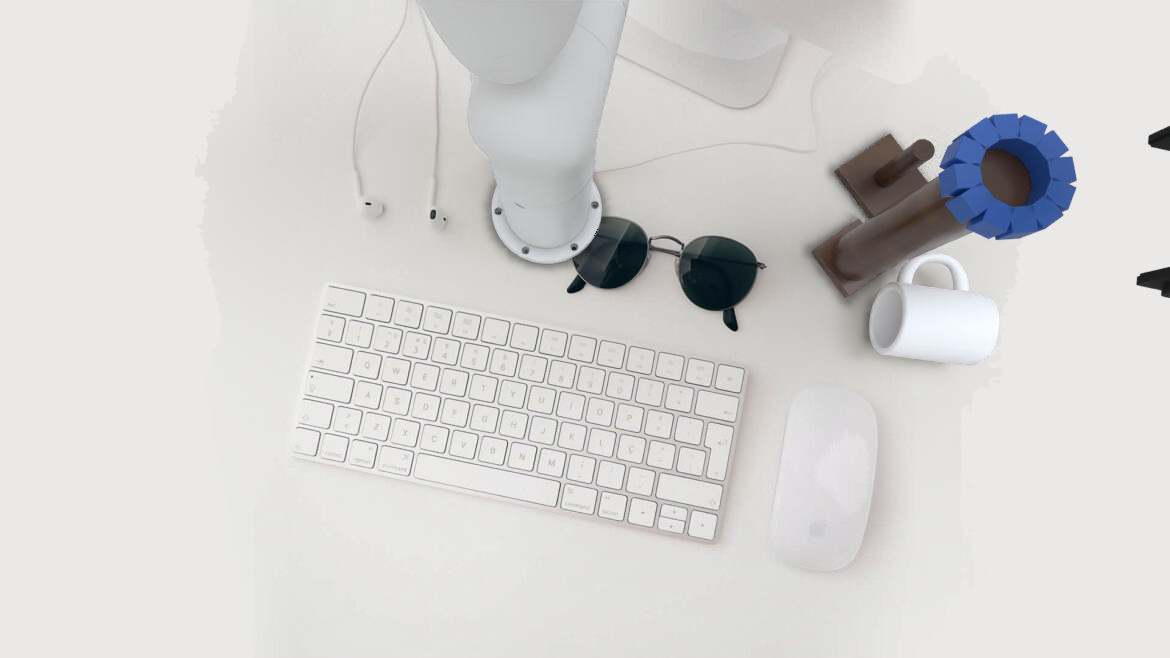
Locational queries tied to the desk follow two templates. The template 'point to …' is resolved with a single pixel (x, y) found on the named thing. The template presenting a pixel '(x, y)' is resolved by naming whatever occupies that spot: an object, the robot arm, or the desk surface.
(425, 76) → the desk surface
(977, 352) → the mug
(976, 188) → the ring
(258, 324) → the desk surface
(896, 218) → the brown cylinder
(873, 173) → the post stand
